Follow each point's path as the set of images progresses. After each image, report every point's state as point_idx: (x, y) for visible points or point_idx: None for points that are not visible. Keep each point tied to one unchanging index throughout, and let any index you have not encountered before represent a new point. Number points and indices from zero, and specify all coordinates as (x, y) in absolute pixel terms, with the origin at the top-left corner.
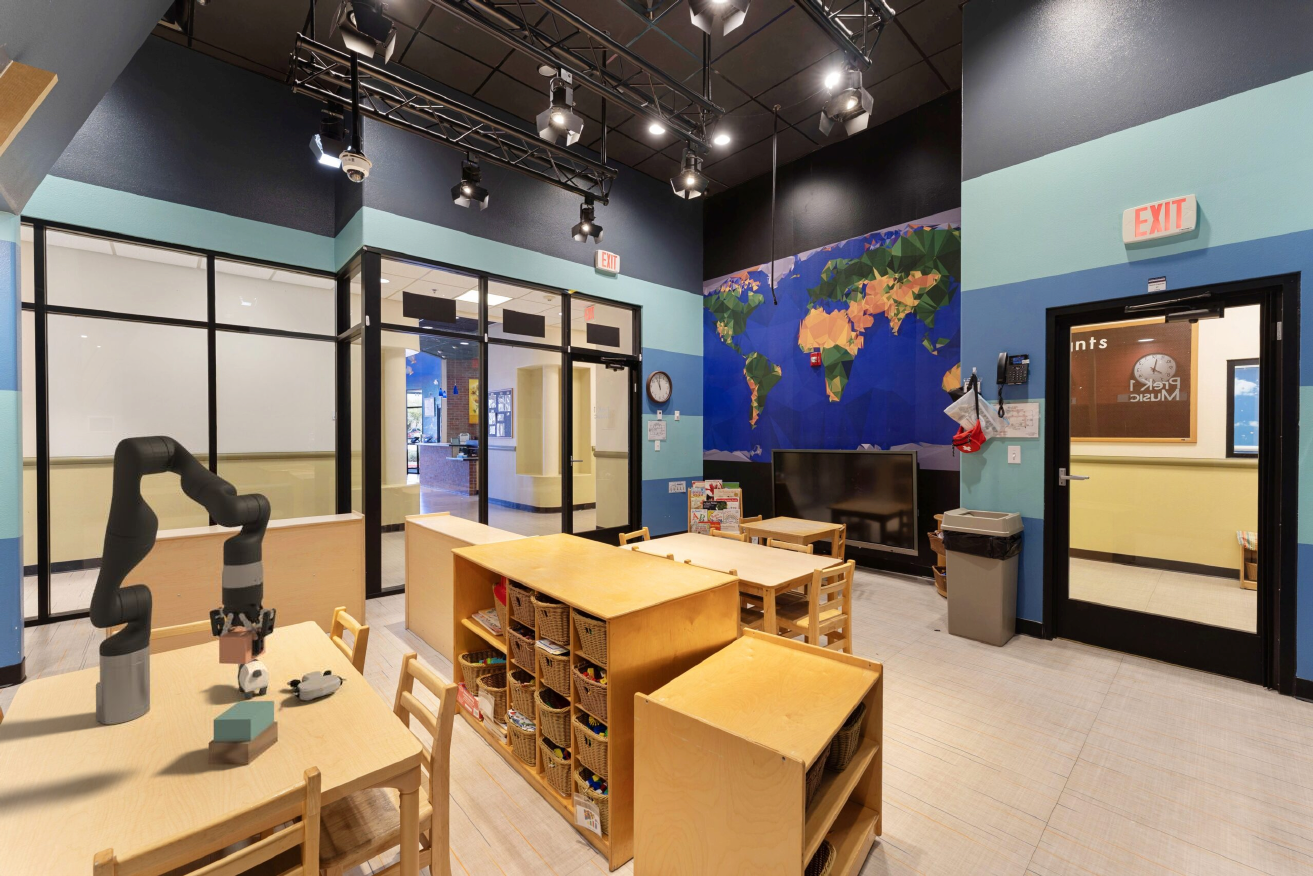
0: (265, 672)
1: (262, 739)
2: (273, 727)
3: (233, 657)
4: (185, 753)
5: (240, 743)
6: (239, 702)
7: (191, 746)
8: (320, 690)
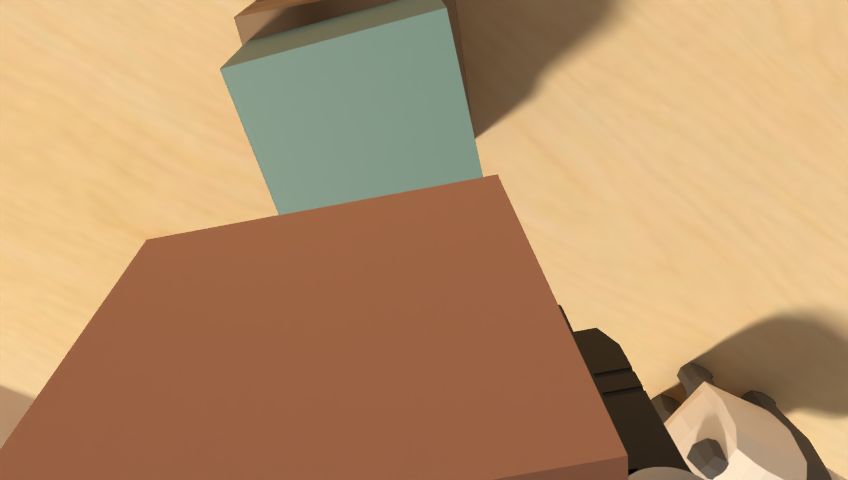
0: None
1: None
2: None
3: (297, 252)
4: (618, 10)
5: (278, 10)
6: None
7: (637, 60)
8: None
